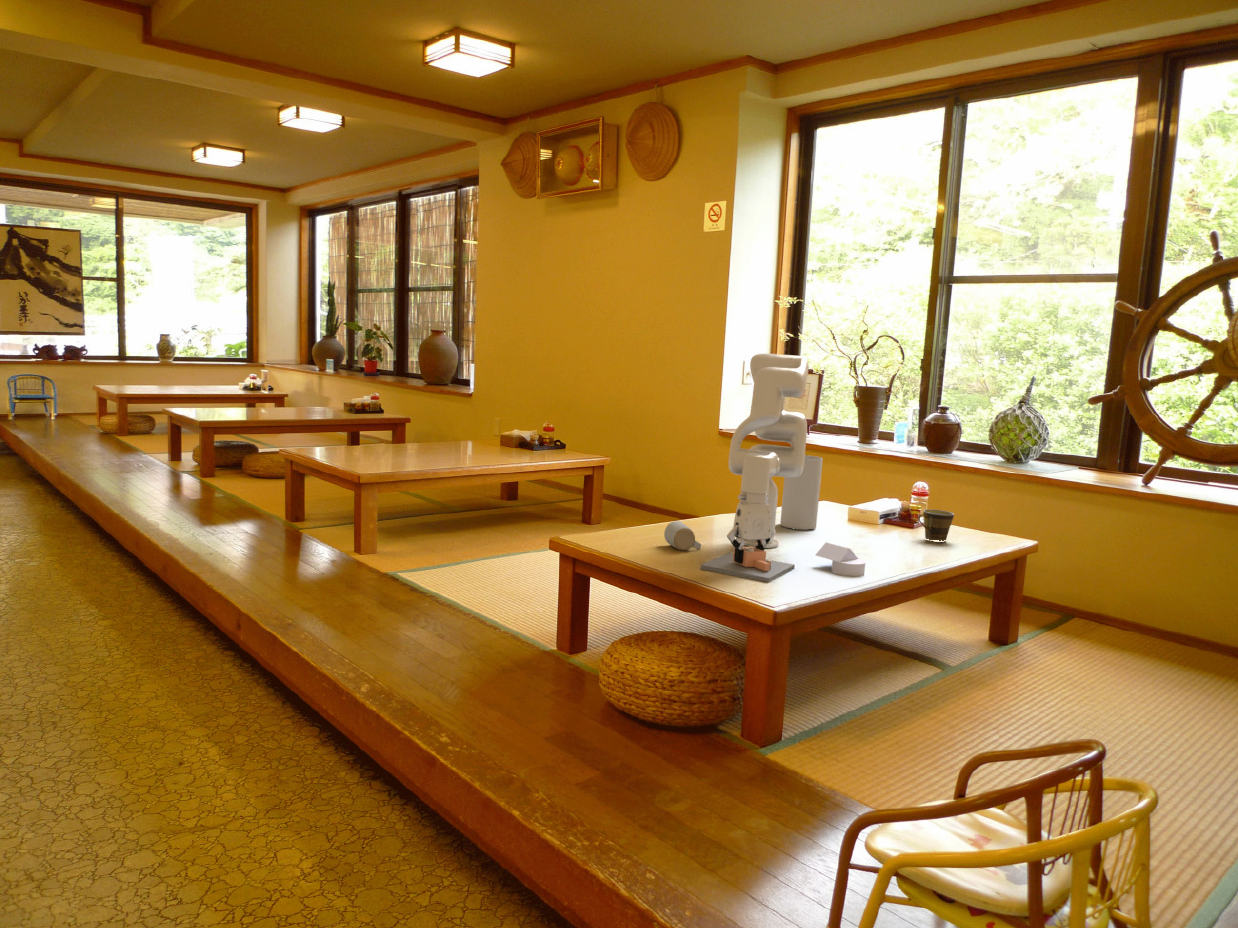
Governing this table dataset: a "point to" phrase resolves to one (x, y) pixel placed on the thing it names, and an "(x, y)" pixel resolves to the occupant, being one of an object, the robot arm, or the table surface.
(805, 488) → the cylinder vase
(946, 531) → the ceramic cup
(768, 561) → the dowel pin
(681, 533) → the ceramic mug
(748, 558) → the square frame with post
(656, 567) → the table surface
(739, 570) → the base plate
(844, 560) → the wedge on round base
